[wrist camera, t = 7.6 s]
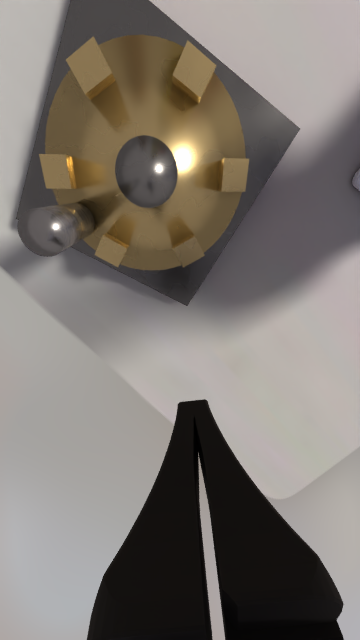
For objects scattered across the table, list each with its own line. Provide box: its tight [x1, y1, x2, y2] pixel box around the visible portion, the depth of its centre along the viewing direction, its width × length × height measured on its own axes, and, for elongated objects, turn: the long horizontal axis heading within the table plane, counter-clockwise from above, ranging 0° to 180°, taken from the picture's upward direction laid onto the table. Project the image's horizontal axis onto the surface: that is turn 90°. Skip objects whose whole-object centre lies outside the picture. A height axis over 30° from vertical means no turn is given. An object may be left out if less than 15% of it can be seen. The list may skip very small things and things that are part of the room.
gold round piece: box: [18, 35, 249, 270], centre depth 11 cm, size 10×10×6 cm
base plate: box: [16, 0, 300, 306], centre depth 15 cm, size 12×12×2 cm
